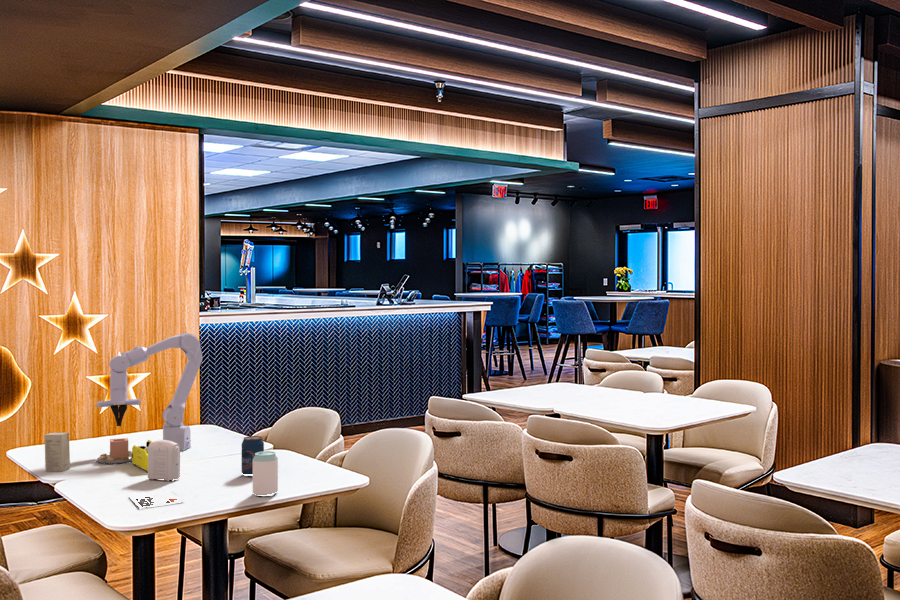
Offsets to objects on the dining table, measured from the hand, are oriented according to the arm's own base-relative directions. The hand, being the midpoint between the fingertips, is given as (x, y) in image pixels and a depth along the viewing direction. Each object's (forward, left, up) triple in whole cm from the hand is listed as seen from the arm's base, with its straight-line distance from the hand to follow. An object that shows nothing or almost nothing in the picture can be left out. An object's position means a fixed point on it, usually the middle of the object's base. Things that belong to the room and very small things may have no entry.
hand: (118, 425), depth 274 cm
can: (-70, +55, -11) cm, 90 cm away
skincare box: (+8, +26, -11) cm, 29 cm away
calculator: (-41, +62, -11) cm, 75 cm away
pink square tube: (-5, +10, -9) cm, 14 cm away
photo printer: (-33, +38, -11) cm, 52 cm away
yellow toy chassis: (-20, +21, -11) cm, 31 cm away
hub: (-5, +10, -10) cm, 15 cm away
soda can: (-59, +31, -11) cm, 67 cm away
